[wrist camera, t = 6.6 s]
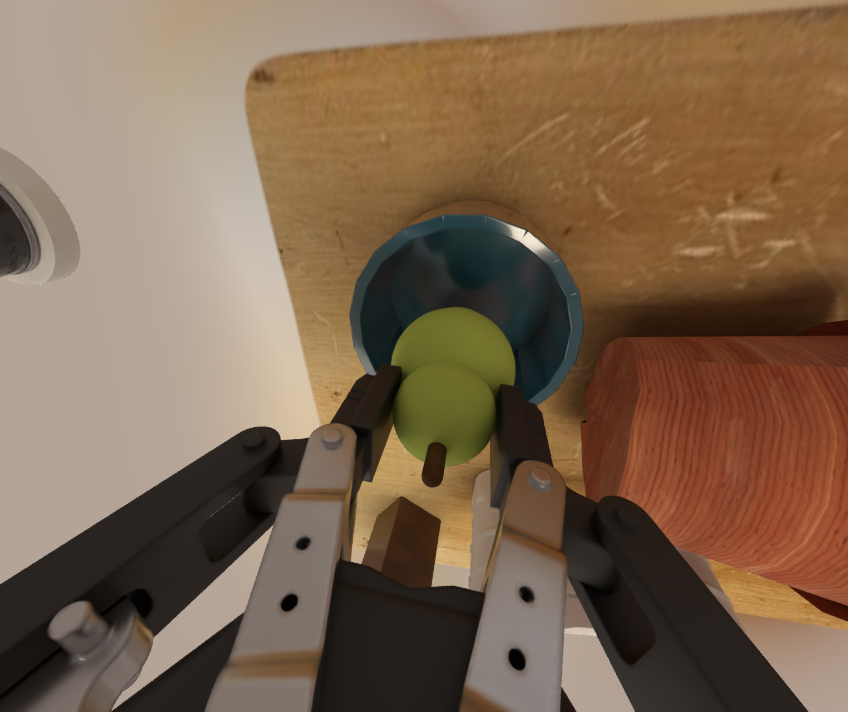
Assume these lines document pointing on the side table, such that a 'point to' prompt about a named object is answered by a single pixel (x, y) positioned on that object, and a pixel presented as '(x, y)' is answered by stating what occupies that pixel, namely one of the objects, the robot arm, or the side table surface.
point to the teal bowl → (473, 289)
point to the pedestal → (404, 544)
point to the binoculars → (574, 612)
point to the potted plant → (732, 449)
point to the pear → (449, 387)
